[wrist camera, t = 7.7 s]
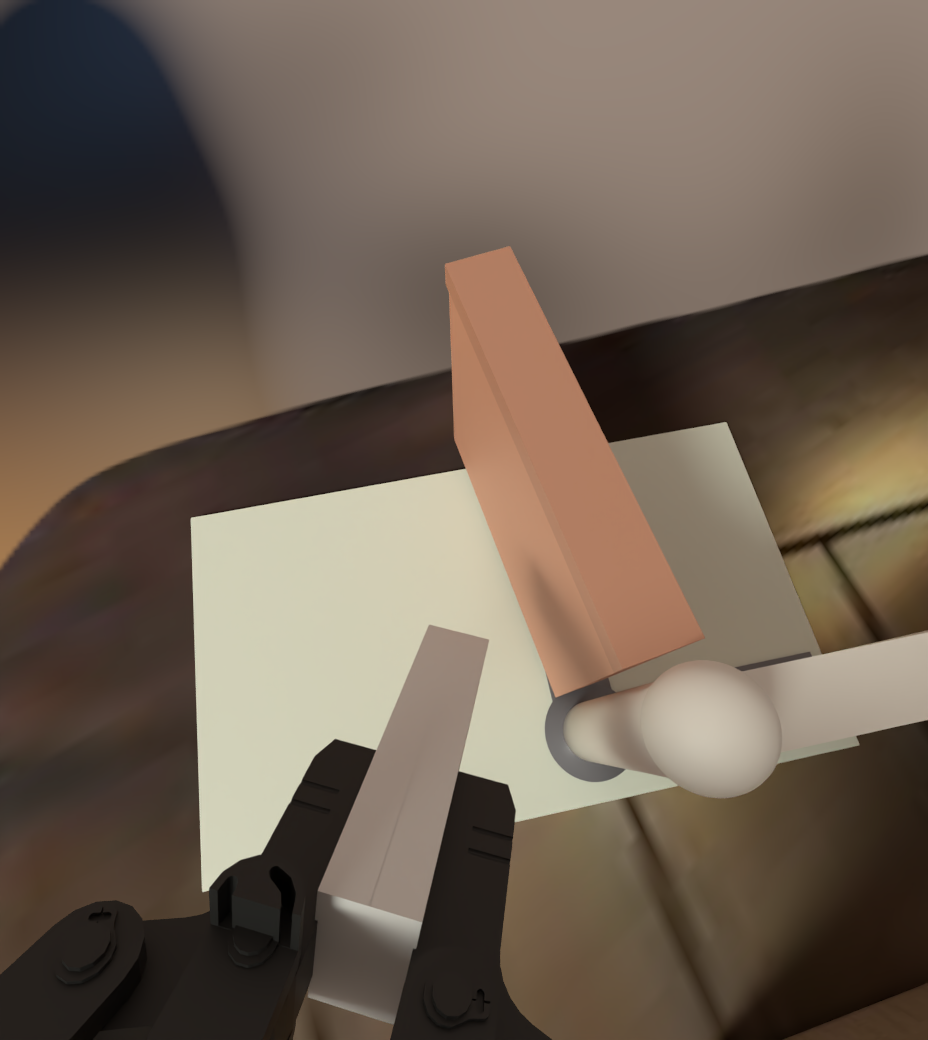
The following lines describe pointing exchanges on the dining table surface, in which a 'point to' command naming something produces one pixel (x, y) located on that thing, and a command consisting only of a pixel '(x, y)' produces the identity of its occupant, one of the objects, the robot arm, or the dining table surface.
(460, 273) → the terracotta rectangular slab
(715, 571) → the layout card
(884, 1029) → the wooden block
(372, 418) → the dining table surface
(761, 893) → the dining table surface
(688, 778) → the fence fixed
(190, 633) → the dining table surface
